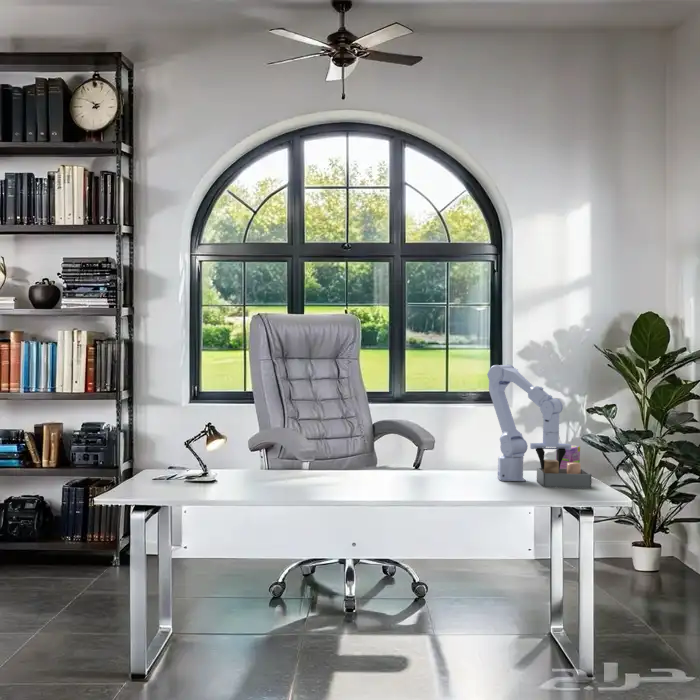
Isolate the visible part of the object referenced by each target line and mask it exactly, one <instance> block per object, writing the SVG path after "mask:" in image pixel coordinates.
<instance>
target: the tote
mask: <svg viewBox="0 0 700 700" xmlns="http://www.w3.org/2000/svg"><path fill="white" fill-rule="evenodd" d="M536 482H537V483H538V484H539V485H540V486H541V487H542V488H555V487H558V488H559V489H560V488H564V489H567V488H568V489H572V488H573V489H592V474H591V473H590V472H588V471H586V469H583V468H581V474H567V469H559V474H554V473H544V472H543V471H542V469H541V467H536Z"/></svg>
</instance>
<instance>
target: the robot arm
mask: <svg viewBox="0 0 700 700" xmlns="http://www.w3.org/2000/svg"><path fill="white" fill-rule="evenodd" d="M486 374H487V379H488V392H489V395H490V398H491V402H492V405H493V408H494V411H495V414H496V417H497V421H498V423H499V426H500V430H501V436H500V437H499V442H500V452H501V454H503V455H502V456H498V457H497V479H498V480H499V481H503V482H526V479H525V477H524V456H525V453H526V452H527V450H528V442H527V441H526V439H525V438H524V436H523V434H522V433H521V432H520V431H519V430H517V426H516V423H515V420H514V417H513V415H512V412H511V408H510V405H509V402H508V398H507V396H506V393H505V391H506V388H507V387H508V386H509V384H510V383H513V384H515V385H516V386H518V387H519V388H520V389H521V390H522V391H524V392H525V393H527V398H528V399H529V400H531V402H532V403H534V404H535V405H536V406H538V407H539V410H540V413H542V418H543V419H542V420H543V421H542V423H543V424H542V426H543V427H542V442H538V443H537V442H533V443H532V442H530V447H529V448H530V450H535V451H536V454H537V457H538V459H539V463H540V468H541V469H544V460H545V453H546V452H545V450H555V453H556V452H557V461H559V469H560V464H561V461H562V459H563V457H564V455H565V453H566V450H565V449H568V450H571V445H572V444H571V443H560V440H559V439H560V414H561V413H562V412H563V403H562V401H561V400H560V399H558V398H553V396H552V395H551V394H548V393H547V392H546V391H545V390H544V387H542V386H538V385H536V386H534V385H533V384H532V383H531V382H530V381H529V380H527V378H526V377H525V376H523V374H521V372H520V371H519V369H517V368H516V367H514V365H512V364H500V365H499V364H494V365H491V367H490V368H489V370H488V372H487V373H486ZM556 449H557V450H556Z"/></svg>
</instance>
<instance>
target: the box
mask: <svg viewBox="0 0 700 700" xmlns="http://www.w3.org/2000/svg"><path fill="white" fill-rule="evenodd" d="M556 450H557V449H555V454H556V455H555V460H557V452H556ZM565 450H566V453H565V455H564V457H563V459H562V461H561V464H560V469H567V463H568V462H578V463H581V462H580V461H581V446H580V445H575V444H571V450H568V449H565Z"/></svg>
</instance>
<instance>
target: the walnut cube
mask: <svg viewBox="0 0 700 700" xmlns="http://www.w3.org/2000/svg"><path fill="white" fill-rule="evenodd" d="M542 471H543V472H544V473H554V474H559V461H557V460H556V459H544V469H542Z"/></svg>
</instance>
